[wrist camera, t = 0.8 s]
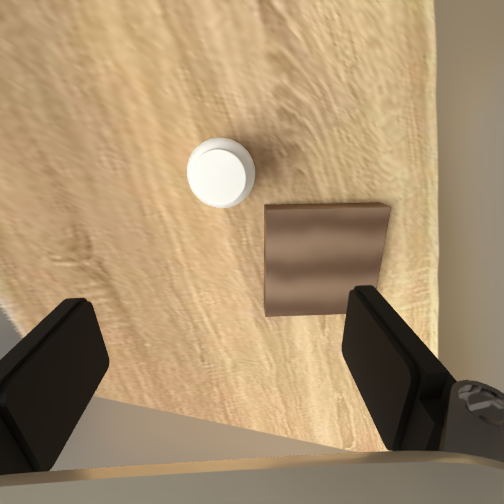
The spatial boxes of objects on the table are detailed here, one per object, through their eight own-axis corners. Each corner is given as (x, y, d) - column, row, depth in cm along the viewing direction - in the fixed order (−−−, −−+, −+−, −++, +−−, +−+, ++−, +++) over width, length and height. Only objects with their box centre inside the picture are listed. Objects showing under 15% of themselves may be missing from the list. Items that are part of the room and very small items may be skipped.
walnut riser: (264, 204, 37) (266, 209, 34) (379, 202, 37) (391, 207, 35) (263, 305, 43) (265, 316, 40) (363, 302, 43) (371, 312, 41)
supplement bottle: (261, 176, 35) (272, 192, 24) (218, 202, 36) (208, 231, 25) (233, 128, 33) (230, 119, 21) (189, 157, 34) (162, 164, 22)
